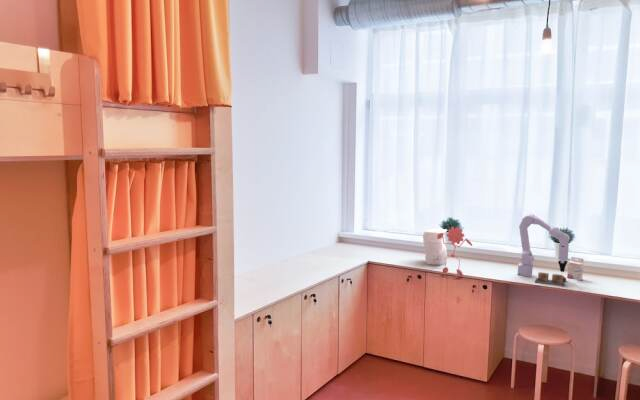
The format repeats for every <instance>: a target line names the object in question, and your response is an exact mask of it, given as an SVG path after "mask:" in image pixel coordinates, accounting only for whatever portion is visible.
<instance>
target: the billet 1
mask: <svg viewBox="0 0 640 400" xmlns="http://www.w3.org/2000/svg"><path fill="white" fill-rule="evenodd" d="M537 274H538V275H537V278H538V281H544V282H548V280H549V276H550V275H549V272H540V271H539V272H538V273H537Z"/></svg>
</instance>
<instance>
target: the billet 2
mask: <svg viewBox="0 0 640 400" xmlns="http://www.w3.org/2000/svg"><path fill="white" fill-rule="evenodd" d="M563 276H564V275H563V274H558V273H552V274H551V280H552V283H559V284H562V280H563Z"/></svg>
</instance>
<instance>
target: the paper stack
mask: <svg viewBox="0 0 640 400" xmlns="http://www.w3.org/2000/svg"><path fill="white" fill-rule="evenodd" d="M447 231H448V229H443V228H429V229H426V230H425V231H424V232H423V235H422V238H423V240H422V241H423V245H424V249H425V257H424V258H425V263H426V265H429V266H442V265H445V264H447V262H448V261H447V259H448V258H447V257H448V252H447V251H448V250H447V247H446V244H444V243H445V242H444V243H443V237H442V238H440V239H438V238H437V236H438V234H440V233H443V236H444V235H445V233H446V232H447ZM445 258H446V259H445Z"/></svg>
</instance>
